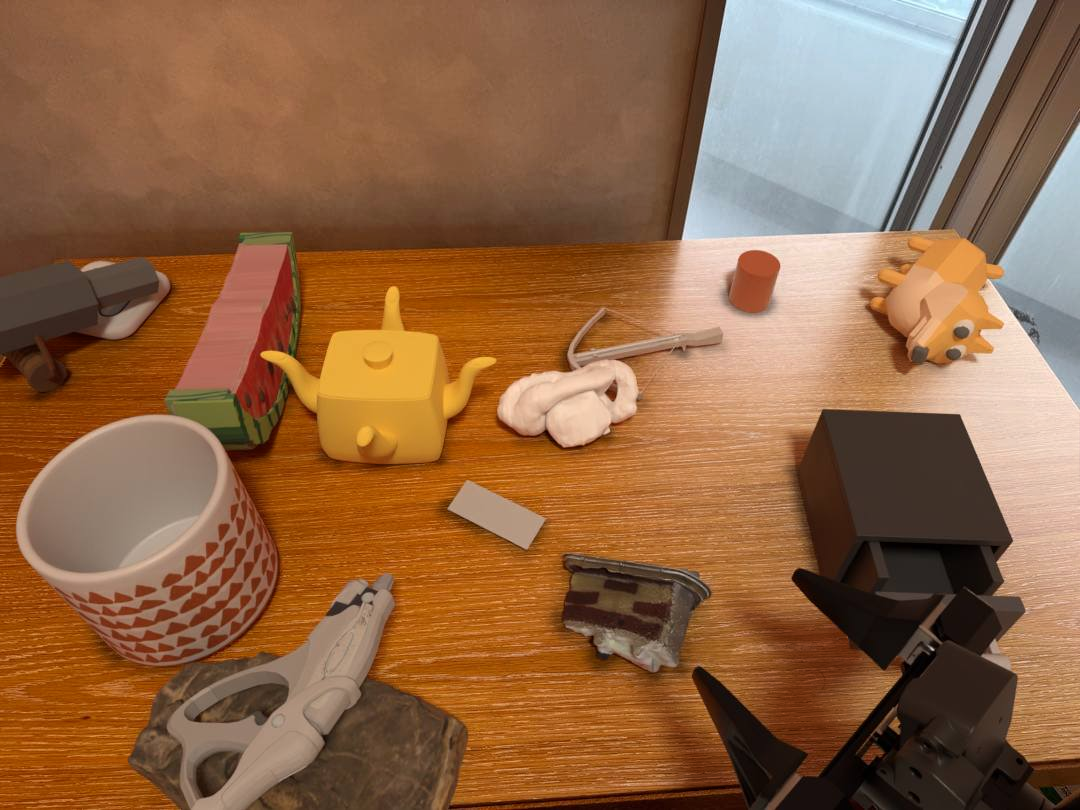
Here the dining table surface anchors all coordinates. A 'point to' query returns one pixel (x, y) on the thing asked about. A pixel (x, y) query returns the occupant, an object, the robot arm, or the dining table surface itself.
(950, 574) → the drawer
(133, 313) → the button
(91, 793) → the dining table surface
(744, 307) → the orange cylinder
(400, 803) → the stone
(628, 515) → the dining table surface
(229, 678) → the gun
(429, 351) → the teapot
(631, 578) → the chocolate cake
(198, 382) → the fruit slice
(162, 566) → the vase
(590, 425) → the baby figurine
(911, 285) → the dog
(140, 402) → the dining table surface
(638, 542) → the dining table surface
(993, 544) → the dark brown hollow box
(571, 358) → the crossbow
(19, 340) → the mechanical component
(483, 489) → the grey rectangular card
